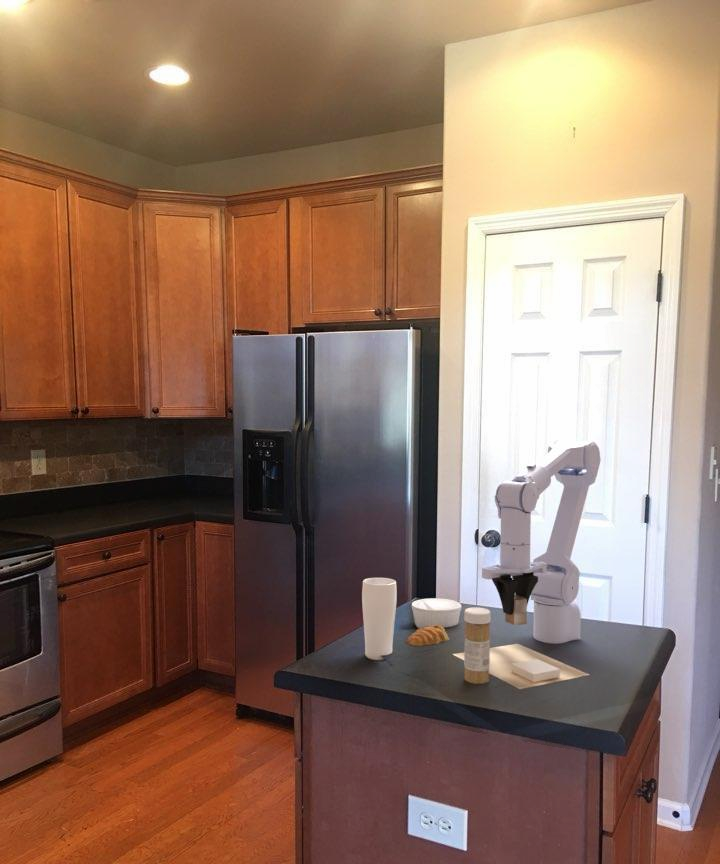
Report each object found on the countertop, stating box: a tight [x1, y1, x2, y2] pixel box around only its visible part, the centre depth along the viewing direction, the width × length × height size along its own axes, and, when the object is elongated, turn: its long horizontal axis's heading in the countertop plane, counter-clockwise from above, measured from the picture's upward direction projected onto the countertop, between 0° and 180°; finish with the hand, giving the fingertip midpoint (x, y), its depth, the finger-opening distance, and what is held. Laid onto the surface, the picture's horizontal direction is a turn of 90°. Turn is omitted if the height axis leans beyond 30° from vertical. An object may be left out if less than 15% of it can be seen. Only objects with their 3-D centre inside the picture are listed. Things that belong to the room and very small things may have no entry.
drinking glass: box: [361, 577, 398, 661], centre depth 140 cm, size 7×7×15 cm
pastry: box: [405, 625, 450, 647], centre depth 147 cm, size 9×7×4 cm
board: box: [452, 643, 590, 690], centre depth 133 cm, size 16×20×1 cm
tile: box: [511, 659, 560, 682], centre depth 127 cm, size 6×2×6 cm
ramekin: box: [411, 597, 462, 629], centre depth 161 cm, size 11×11×5 cm
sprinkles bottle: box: [463, 607, 492, 685], centre depth 125 cm, size 5×5×14 cm
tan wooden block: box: [504, 595, 528, 626], centre depth 138 cm, size 3×3×5 cm
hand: (514, 612), depth 138 cm, fingers closed on tan wooden block, 3 cm apart
